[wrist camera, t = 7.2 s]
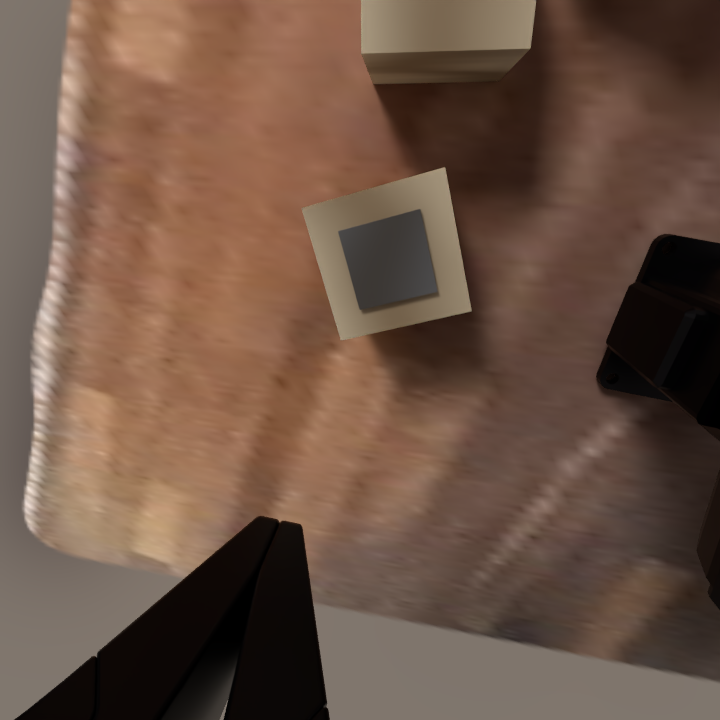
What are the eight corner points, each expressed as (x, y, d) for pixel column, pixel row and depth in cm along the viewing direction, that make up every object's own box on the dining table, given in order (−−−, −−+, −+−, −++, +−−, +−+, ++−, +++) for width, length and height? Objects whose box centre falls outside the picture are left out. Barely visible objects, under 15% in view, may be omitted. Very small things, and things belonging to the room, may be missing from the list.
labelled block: (436, 169, 17) (445, 167, 13) (457, 281, 19) (472, 313, 14) (326, 201, 18) (300, 208, 14) (355, 306, 20) (340, 342, 15)
